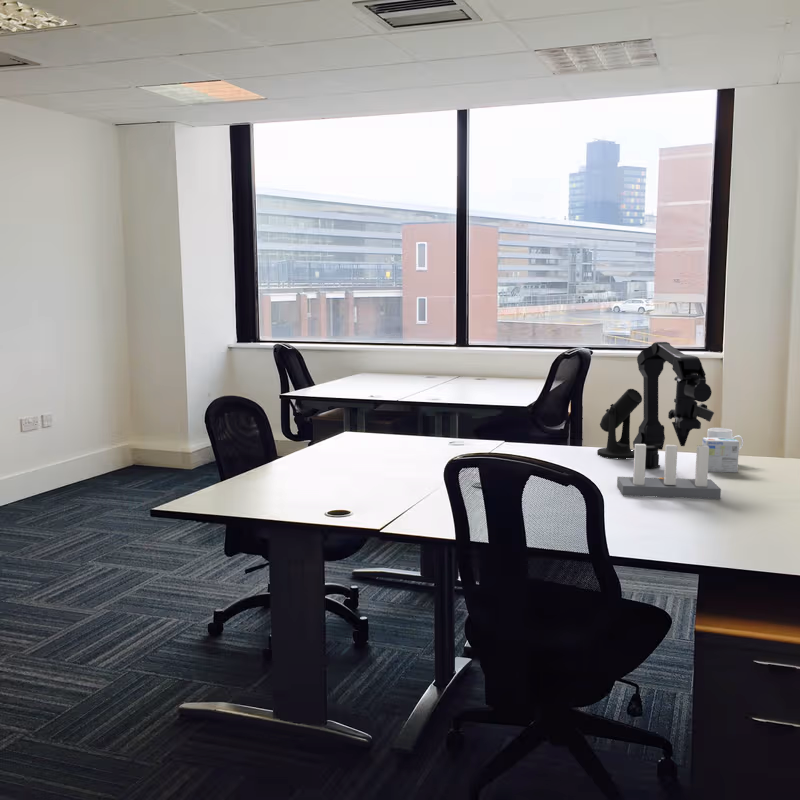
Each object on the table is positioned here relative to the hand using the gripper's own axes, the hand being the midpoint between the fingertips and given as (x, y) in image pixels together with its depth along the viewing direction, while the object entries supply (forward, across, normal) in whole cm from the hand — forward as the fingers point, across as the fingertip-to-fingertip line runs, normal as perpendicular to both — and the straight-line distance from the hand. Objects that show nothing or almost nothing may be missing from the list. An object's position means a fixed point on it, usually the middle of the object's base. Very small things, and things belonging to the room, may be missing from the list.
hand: (682, 446), depth 263 cm
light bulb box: (+12, +21, -17) cm, 30 cm away
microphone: (+13, +41, +14) cm, 45 cm away
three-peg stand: (+12, -13, +6) cm, 18 cm away
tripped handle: (+8, -16, +6) cm, 19 cm away
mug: (+13, +34, -22) cm, 42 cm away
